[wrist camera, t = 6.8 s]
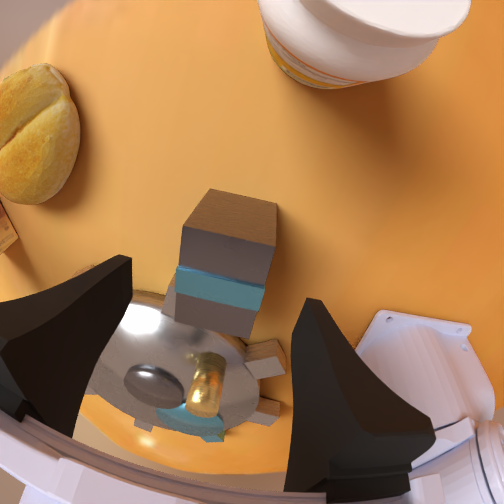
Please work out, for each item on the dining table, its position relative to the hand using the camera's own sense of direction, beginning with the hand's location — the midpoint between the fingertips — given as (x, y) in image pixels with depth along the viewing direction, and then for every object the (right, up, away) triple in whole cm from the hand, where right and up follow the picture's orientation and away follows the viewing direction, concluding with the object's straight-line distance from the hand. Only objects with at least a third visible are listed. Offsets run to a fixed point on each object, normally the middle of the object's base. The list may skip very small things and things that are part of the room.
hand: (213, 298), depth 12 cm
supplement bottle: (+5, +12, 0) cm, 13 cm away
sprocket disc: (-6, -8, +11) cm, 15 cm away
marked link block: (+1, +3, +5) cm, 6 cm away
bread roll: (-12, +10, +3) cm, 16 cm away
